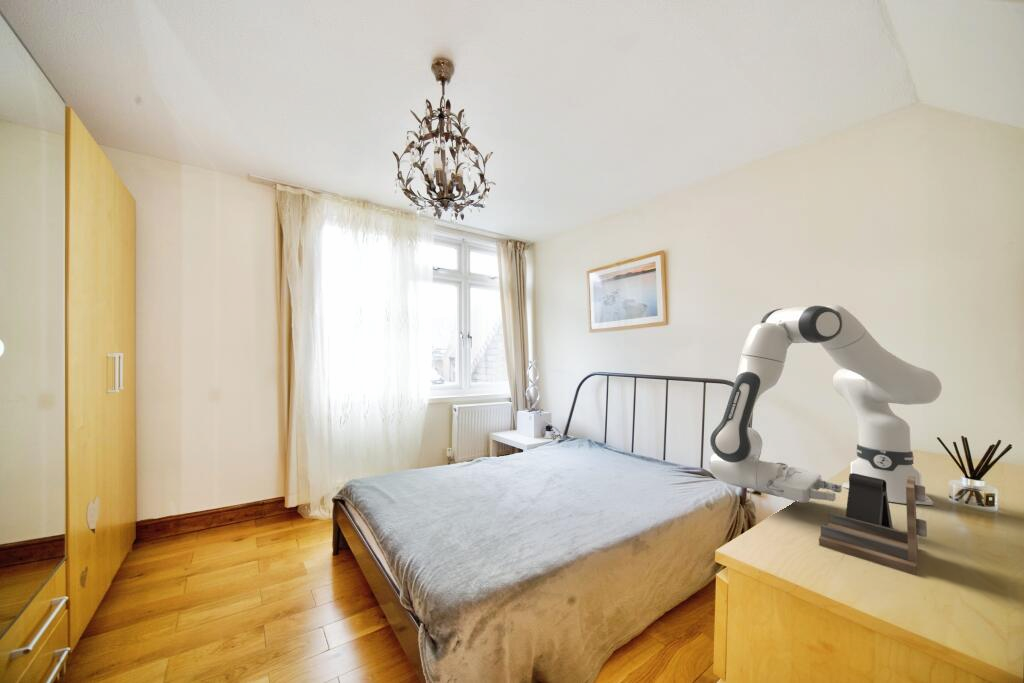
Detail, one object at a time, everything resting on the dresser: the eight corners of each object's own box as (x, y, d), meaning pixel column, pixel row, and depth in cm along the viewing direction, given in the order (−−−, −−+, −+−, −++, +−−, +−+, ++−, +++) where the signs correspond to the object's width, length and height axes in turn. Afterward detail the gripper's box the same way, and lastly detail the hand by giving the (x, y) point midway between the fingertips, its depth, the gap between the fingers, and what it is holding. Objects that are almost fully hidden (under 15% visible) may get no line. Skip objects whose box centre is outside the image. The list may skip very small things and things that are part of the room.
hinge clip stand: (831, 525, 88) (829, 460, 89) (927, 551, 76) (924, 476, 77) (819, 545, 78) (817, 472, 79) (927, 578, 66) (924, 492, 67)
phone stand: (877, 536, 83) (876, 483, 83) (844, 525, 88) (843, 475, 89) (893, 528, 87) (891, 477, 88) (860, 518, 92) (858, 470, 93)
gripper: (761, 474, 96) (830, 489, 85) (782, 461, 109) (844, 472, 99) (762, 499, 95) (831, 516, 85) (782, 482, 109) (844, 496, 98)
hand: (838, 493), depth 92 cm, fingers open, 8 cm apart
